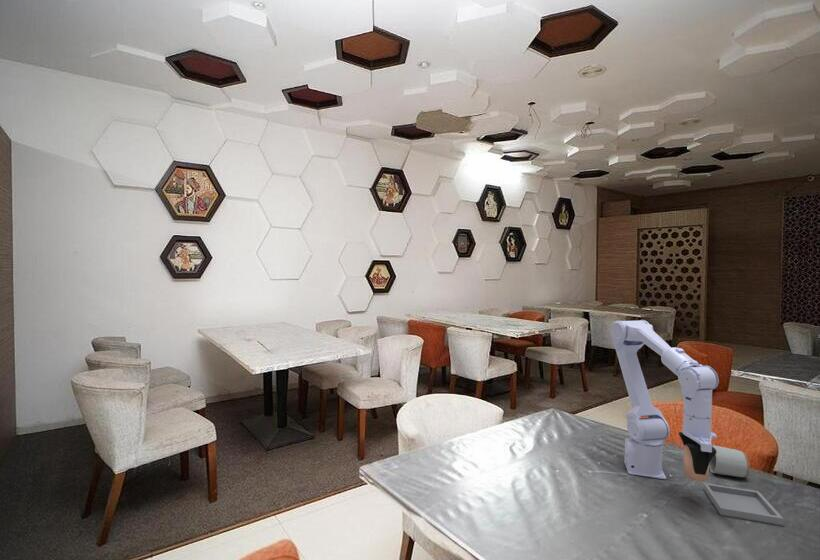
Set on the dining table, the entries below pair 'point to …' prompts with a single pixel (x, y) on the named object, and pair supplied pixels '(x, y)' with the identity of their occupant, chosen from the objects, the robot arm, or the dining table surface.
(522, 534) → the dining table surface
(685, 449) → the pink pillar candle
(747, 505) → the tray
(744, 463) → the ceramic mug
